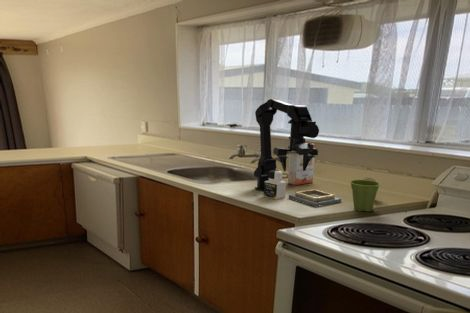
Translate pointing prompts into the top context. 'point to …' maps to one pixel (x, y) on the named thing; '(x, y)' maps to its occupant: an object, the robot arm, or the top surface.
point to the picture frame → (315, 197)
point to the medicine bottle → (275, 185)
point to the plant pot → (364, 194)
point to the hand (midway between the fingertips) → (294, 171)
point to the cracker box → (300, 170)
